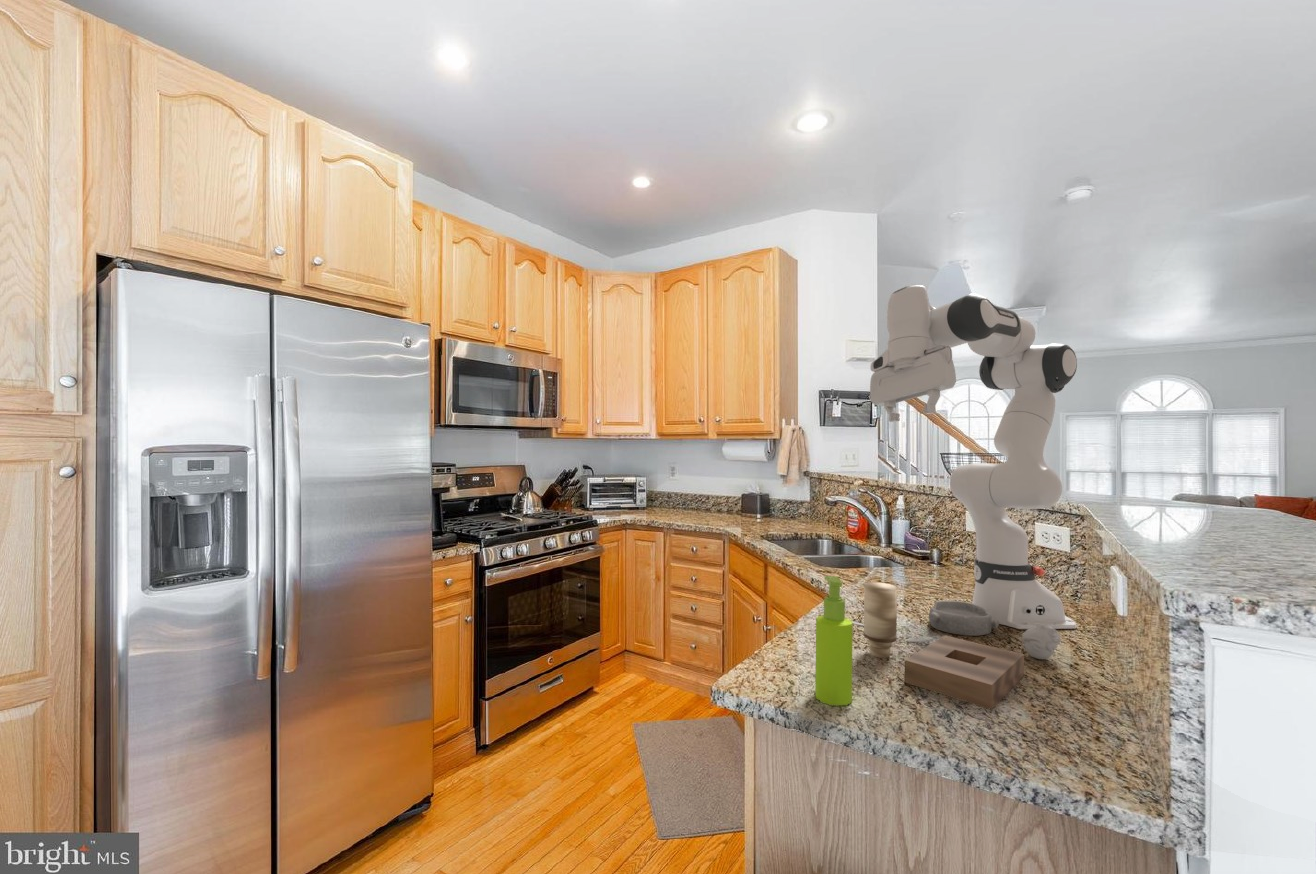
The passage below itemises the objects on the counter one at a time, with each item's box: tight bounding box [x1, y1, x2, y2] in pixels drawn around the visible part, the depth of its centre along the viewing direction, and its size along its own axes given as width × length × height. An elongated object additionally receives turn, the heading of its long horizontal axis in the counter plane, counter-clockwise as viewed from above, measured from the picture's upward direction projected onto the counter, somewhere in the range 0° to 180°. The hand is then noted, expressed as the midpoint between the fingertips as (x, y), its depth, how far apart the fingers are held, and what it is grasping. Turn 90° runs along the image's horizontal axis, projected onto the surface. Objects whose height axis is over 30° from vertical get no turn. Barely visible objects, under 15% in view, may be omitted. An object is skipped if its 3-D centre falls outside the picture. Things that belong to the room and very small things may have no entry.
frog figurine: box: [1021, 623, 1061, 660], centre depth 112 cm, size 6×7×7 cm
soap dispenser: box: [814, 575, 854, 706], centre depth 94 cm, size 6×7×20 cm
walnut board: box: [904, 634, 1025, 710], centre depth 102 cm, size 20×14×4 cm
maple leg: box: [863, 581, 898, 659], centre depth 113 cm, size 6×6×14 cm
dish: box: [928, 600, 1000, 637], centre depth 131 cm, size 14×14×5 cm
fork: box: [851, 620, 934, 643], centre depth 128 cm, size 3×24×2 cm, turn 36°
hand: (911, 417), depth 119 cm, fingers open, 8 cm apart
